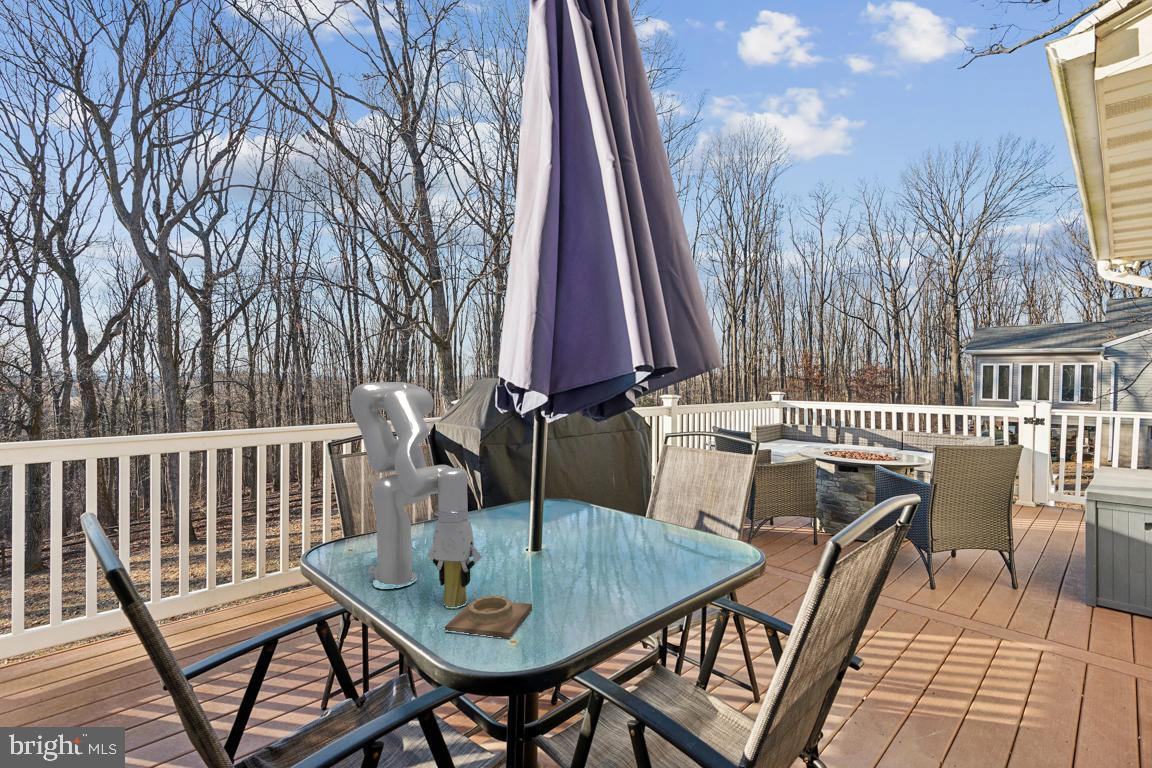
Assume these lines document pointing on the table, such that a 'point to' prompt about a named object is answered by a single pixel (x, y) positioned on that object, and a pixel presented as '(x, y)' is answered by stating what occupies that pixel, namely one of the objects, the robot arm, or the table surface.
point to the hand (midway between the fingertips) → (454, 583)
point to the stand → (490, 617)
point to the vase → (453, 584)
